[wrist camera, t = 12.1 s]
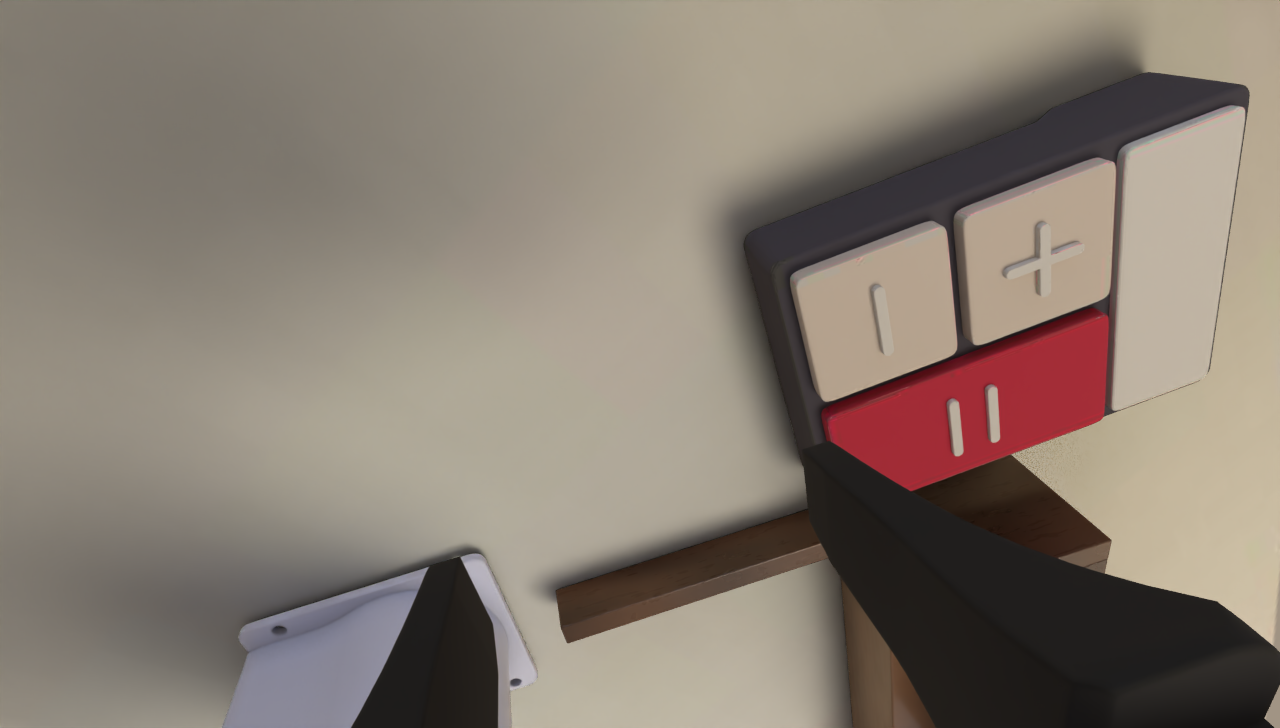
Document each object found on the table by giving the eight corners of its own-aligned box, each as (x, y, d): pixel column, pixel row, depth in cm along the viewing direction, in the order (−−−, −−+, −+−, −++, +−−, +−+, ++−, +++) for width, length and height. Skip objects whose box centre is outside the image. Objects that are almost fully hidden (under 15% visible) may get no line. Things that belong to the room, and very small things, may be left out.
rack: (653, 833, 39) (680, 961, 34) (555, 589, 28) (573, 722, 23) (978, 717, 40) (1052, 822, 35) (1001, 446, 30) (1112, 539, 25)
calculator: (776, 275, 19) (1281, 82, 19) (734, 228, 23) (1155, 66, 22) (839, 533, 25) (1229, 389, 24) (797, 462, 28) (1135, 336, 28)
